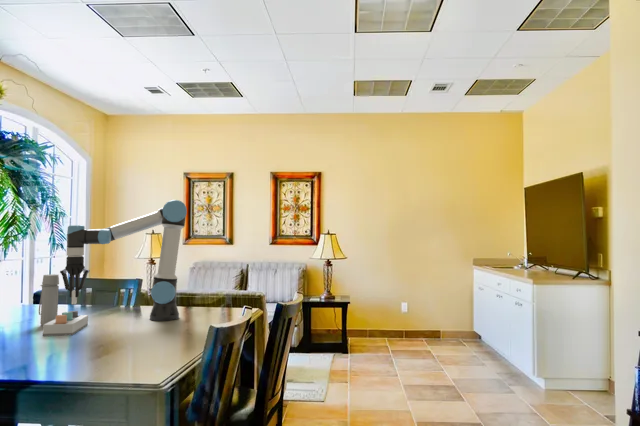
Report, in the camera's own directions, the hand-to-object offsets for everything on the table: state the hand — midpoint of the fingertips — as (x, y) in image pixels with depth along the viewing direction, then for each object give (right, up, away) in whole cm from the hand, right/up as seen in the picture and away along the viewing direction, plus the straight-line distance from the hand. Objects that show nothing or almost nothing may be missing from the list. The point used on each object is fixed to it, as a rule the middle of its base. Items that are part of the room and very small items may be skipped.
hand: (74, 303), depth 212 cm
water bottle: (-16, -12, +4) cm, 20 cm away
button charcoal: (0, -9, -1) cm, 9 cm away
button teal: (+1, -8, -8) cm, 11 cm away
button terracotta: (+3, -7, -15) cm, 17 cm away
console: (+1, -11, -8) cm, 14 cm away
